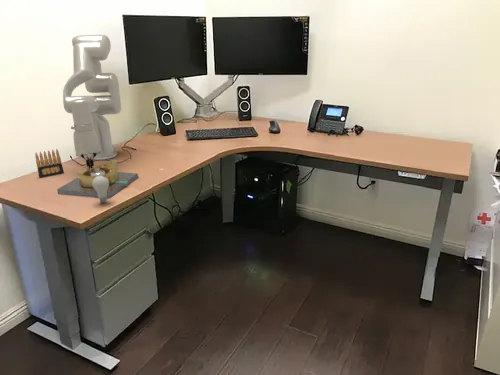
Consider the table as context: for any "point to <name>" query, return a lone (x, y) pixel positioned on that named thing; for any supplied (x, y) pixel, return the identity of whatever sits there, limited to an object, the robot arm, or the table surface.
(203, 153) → the table surface
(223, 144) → the table surface
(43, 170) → the ammunition clip
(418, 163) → the table surface
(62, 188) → the housing
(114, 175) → the ring nut
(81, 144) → the robot arm
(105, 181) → the lightbulb
